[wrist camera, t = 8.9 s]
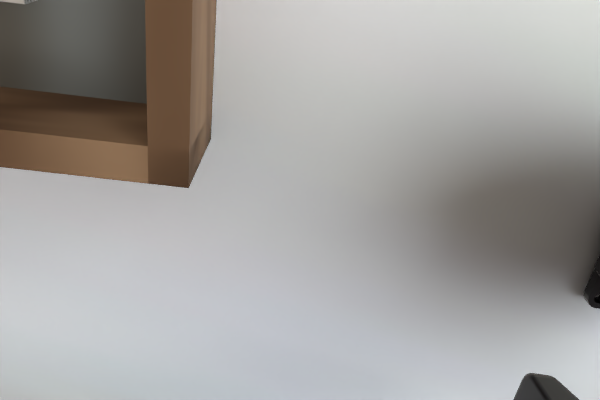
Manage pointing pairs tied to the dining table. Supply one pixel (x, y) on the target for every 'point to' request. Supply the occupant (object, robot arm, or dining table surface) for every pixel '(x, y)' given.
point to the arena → (107, 87)
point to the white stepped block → (18, 1)
